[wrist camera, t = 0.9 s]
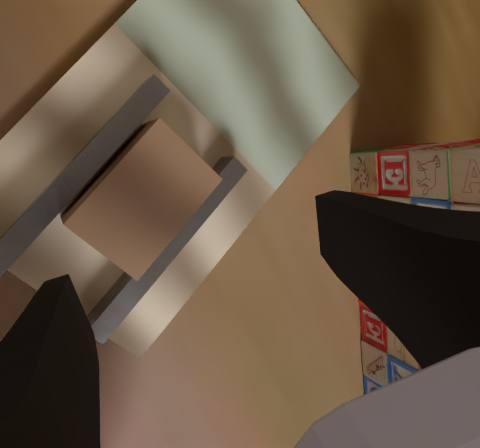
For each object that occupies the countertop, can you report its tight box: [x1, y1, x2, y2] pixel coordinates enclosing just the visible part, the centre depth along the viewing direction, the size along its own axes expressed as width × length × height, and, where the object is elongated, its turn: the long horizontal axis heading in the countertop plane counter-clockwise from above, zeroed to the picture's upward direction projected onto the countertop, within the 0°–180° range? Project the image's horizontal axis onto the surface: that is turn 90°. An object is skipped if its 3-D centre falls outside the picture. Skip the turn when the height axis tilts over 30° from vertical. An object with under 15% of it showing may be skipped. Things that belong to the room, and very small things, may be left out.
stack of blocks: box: [350, 139, 480, 394], centre depth 30 cm, size 21×6×12 cm, turn 7°
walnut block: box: [60, 118, 223, 281], centre depth 24 cm, size 7×5×4 cm, turn 137°
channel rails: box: [0, 74, 248, 345], centre depth 25 cm, size 13×8×2 cm, turn 137°
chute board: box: [0, 0, 360, 360], centre depth 27 cm, size 24×14×1 cm, turn 137°
